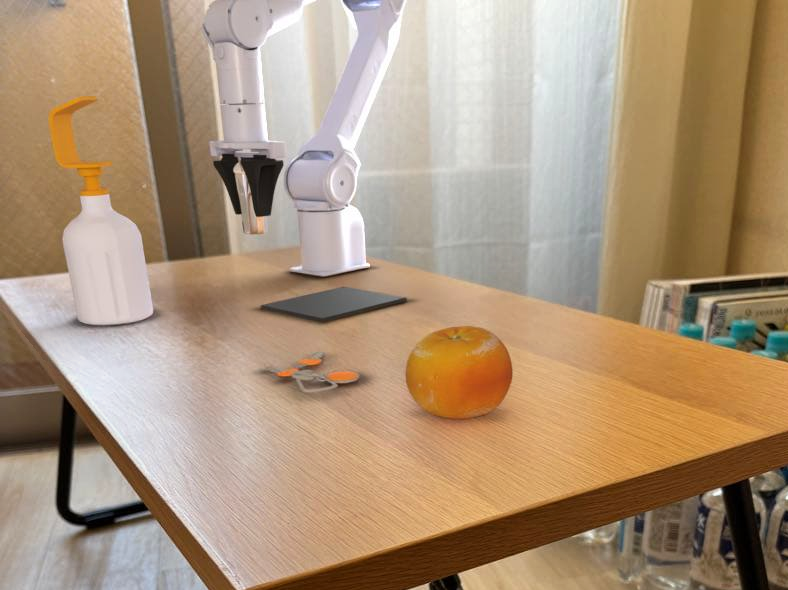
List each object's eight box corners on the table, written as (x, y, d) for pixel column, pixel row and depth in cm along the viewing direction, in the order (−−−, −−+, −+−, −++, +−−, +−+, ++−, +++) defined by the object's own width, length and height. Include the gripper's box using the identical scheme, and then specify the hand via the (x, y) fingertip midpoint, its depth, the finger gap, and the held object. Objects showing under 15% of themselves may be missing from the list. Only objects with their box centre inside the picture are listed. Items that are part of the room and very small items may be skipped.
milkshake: (230, 235, 122) (222, 155, 117) (248, 229, 126) (241, 152, 122) (260, 236, 120) (254, 156, 116) (277, 231, 125) (272, 153, 120)
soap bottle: (133, 327, 106) (93, 96, 95) (64, 326, 108) (17, 99, 97) (166, 310, 114) (133, 94, 103) (100, 309, 116) (61, 97, 104)
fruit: (371, 370, 74) (424, 290, 70) (438, 384, 80) (491, 311, 76) (424, 439, 70) (483, 358, 66) (490, 448, 76) (548, 374, 72)
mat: (344, 290, 121) (343, 286, 121) (406, 301, 113) (406, 297, 113) (260, 309, 112) (260, 304, 112) (322, 322, 105) (322, 318, 104)
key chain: (372, 386, 81) (371, 377, 81) (294, 398, 79) (294, 389, 78) (326, 353, 92) (325, 345, 91) (256, 363, 89) (256, 355, 89)
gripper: (185, 106, 118) (198, 214, 124) (249, 104, 109) (260, 221, 115) (230, 104, 123) (240, 209, 129) (295, 103, 113) (303, 216, 119)
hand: (252, 215), depth 122 cm, fingers closed on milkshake, 4 cm apart
